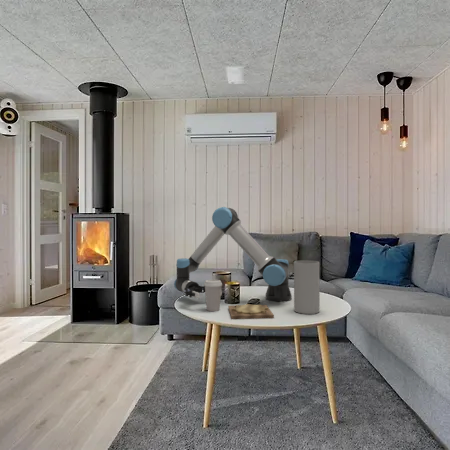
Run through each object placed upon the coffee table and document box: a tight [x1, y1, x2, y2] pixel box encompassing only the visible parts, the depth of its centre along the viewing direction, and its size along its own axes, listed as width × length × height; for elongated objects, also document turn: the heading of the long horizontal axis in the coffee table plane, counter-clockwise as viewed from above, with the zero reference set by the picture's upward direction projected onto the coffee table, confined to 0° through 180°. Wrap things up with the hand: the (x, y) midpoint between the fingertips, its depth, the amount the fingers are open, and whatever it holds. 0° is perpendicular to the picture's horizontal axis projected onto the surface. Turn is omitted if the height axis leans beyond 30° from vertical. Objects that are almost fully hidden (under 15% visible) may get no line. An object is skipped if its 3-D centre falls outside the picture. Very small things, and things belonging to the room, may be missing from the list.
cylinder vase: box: [293, 260, 321, 315], centre depth 183 cm, size 12×12×25 cm
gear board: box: [227, 303, 275, 320], centre depth 181 cm, size 20×20×2 cm
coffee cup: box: [203, 279, 223, 312], centre depth 187 cm, size 10×10×15 cm
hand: (210, 294), depth 189 cm, fingers open, 13 cm apart
